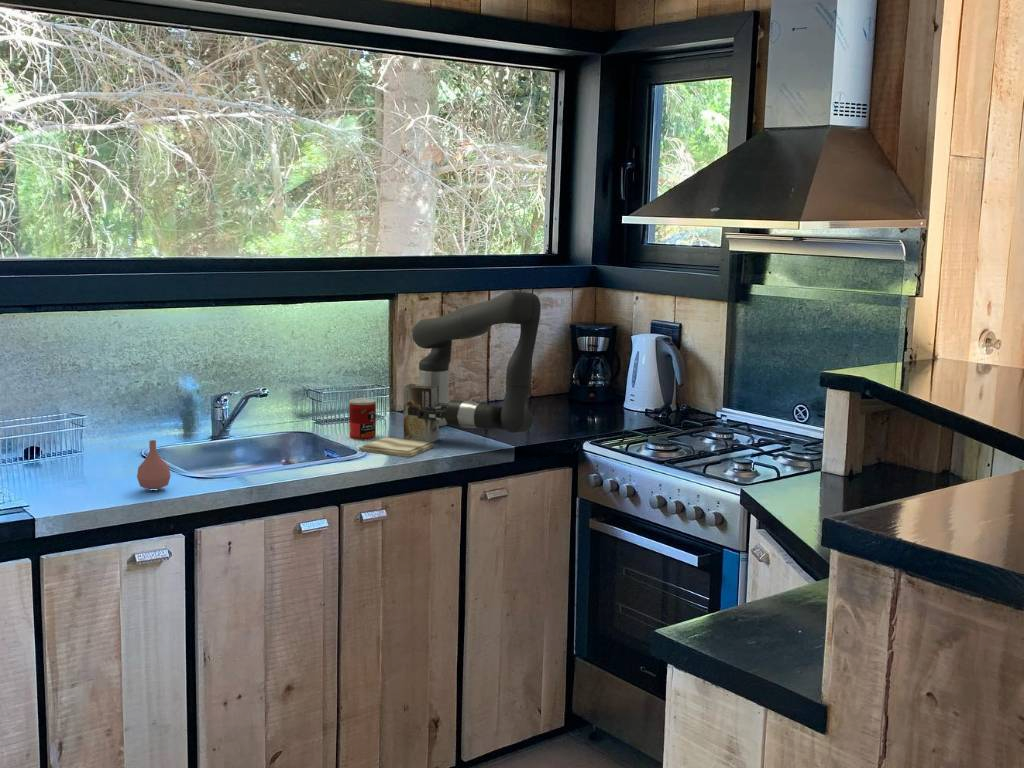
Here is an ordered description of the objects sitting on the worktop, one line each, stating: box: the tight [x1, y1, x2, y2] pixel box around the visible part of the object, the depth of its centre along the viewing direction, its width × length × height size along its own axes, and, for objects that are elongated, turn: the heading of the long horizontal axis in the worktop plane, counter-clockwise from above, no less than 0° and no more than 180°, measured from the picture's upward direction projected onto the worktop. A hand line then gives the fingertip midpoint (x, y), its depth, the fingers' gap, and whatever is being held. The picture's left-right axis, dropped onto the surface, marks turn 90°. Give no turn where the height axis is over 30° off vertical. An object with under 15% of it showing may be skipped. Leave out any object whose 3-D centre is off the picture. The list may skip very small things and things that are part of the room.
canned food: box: [348, 397, 377, 441], centre depth 329 cm, size 8×8×11 cm
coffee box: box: [402, 383, 440, 444], centre depth 326 cm, size 9×6×16 cm
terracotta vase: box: [136, 439, 172, 490], centre depth 266 cm, size 8×8×12 cm
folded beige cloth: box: [358, 436, 435, 458], centre depth 315 cm, size 14×16×2 cm
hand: (414, 408), depth 327 cm, fingers closed on coffee box, 7 cm apart
